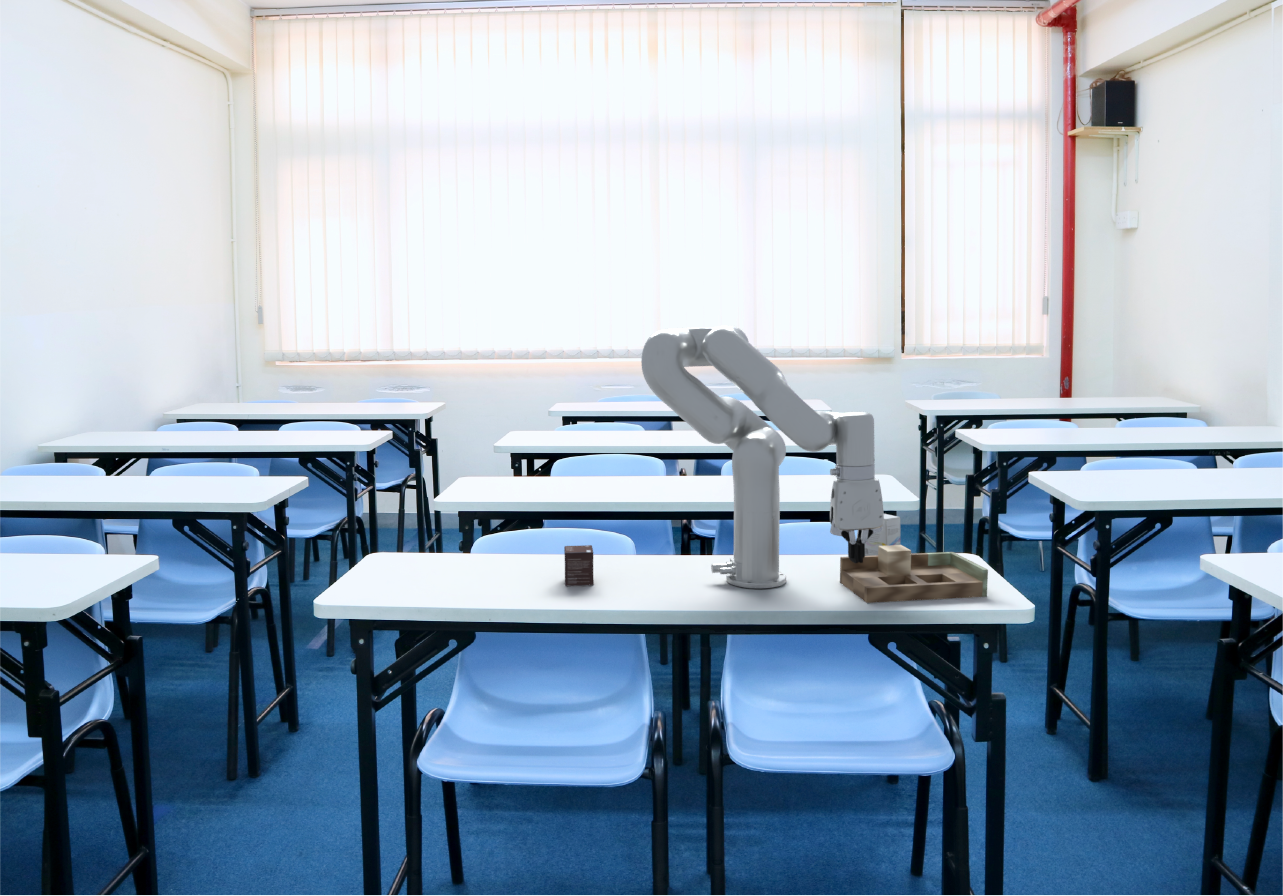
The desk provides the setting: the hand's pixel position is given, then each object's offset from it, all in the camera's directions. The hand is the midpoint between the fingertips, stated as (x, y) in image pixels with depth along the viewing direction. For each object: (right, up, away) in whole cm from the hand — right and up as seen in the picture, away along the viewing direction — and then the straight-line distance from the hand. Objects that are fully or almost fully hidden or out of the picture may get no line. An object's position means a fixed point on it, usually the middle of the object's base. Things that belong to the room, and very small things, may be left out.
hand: (856, 561), depth 198 cm
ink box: (+9, -4, +18) cm, 20 cm away
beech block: (+8, -2, +2) cm, 9 cm away
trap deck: (+11, -6, 0) cm, 12 cm away
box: (-57, -6, +7) cm, 58 cm away
